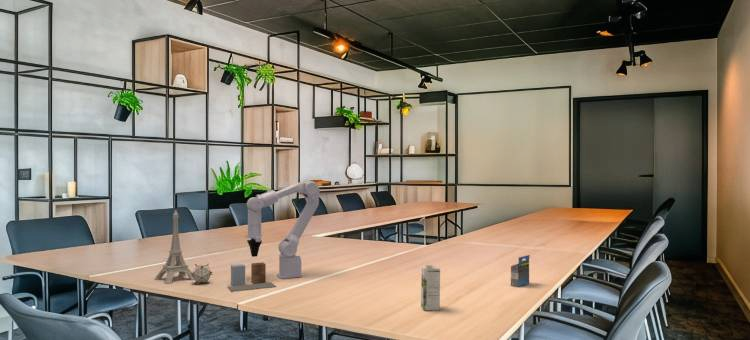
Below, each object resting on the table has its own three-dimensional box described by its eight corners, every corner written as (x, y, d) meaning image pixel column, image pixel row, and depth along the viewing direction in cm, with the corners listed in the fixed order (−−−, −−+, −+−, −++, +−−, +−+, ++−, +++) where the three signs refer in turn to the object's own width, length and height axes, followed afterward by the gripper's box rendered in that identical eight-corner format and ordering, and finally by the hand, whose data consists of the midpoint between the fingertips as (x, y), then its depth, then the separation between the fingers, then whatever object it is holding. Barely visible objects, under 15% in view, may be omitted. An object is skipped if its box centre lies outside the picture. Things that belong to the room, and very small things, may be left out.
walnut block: (263, 281, 217) (263, 262, 217) (265, 283, 213) (265, 263, 213) (251, 282, 215) (251, 263, 214) (253, 284, 211) (253, 265, 211)
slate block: (243, 283, 213) (243, 264, 213) (245, 285, 209) (245, 265, 209) (230, 284, 211) (230, 265, 211) (232, 286, 207) (232, 266, 207)
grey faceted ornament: (203, 293, 211) (203, 276, 205) (186, 284, 212) (186, 268, 206) (216, 278, 218) (217, 262, 212) (200, 270, 219) (199, 254, 214)
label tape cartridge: (521, 282, 216) (521, 253, 216) (529, 284, 213) (529, 254, 213) (510, 286, 210) (510, 256, 210) (518, 287, 207) (518, 257, 207)
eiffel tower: (184, 274, 229) (184, 208, 229) (197, 279, 220) (197, 210, 219) (153, 279, 220) (153, 210, 219) (166, 284, 210) (166, 212, 210)
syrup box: (420, 306, 178) (420, 265, 178) (437, 306, 179) (437, 264, 179) (423, 311, 173) (423, 268, 173) (440, 310, 173) (440, 268, 173)
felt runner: (270, 282, 213) (270, 282, 213) (276, 286, 206) (276, 286, 206) (227, 287, 205) (227, 286, 205) (231, 291, 198) (231, 290, 198)
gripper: (241, 223, 225) (241, 254, 225) (249, 227, 212) (249, 259, 212) (257, 223, 228) (257, 253, 228) (265, 226, 215) (265, 258, 215)
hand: (254, 256), depth 220 cm, fingers closed
